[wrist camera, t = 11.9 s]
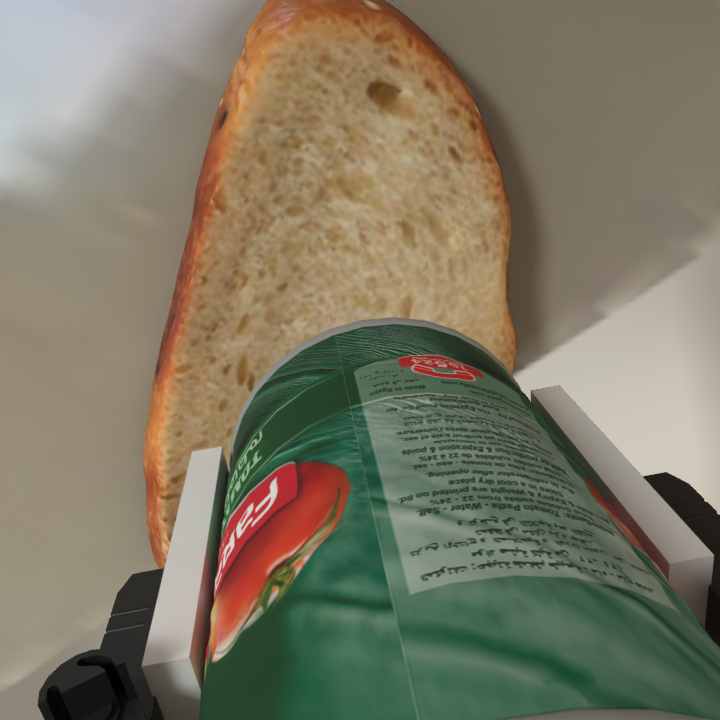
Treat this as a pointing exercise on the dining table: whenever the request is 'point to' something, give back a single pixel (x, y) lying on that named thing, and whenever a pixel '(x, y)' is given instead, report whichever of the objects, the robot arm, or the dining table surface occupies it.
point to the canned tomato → (431, 553)
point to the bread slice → (324, 219)
